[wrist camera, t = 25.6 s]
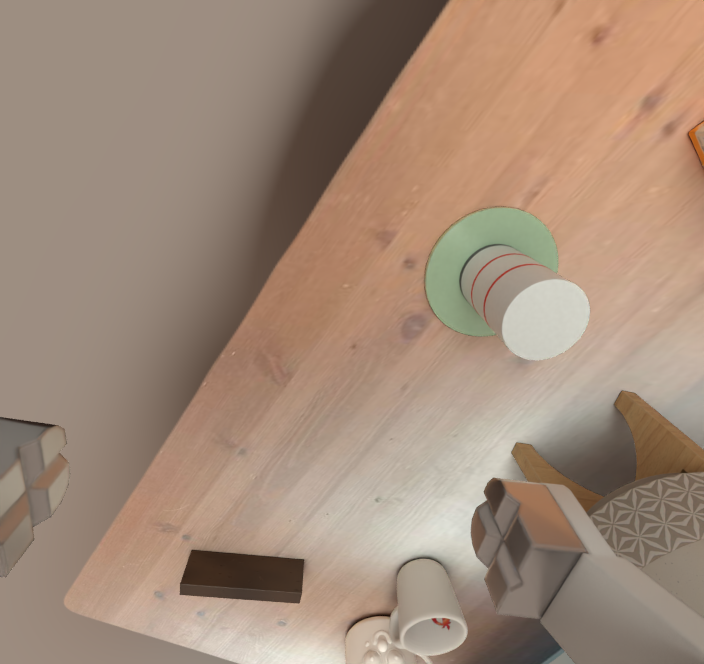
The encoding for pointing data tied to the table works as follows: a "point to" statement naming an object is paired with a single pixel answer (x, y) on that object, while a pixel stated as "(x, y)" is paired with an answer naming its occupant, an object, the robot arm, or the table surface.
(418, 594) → the cup
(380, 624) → the mug
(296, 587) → the rail
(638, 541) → the planter
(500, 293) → the white striped cylinder
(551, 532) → the robot arm
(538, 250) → the coaster
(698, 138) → the supplement box
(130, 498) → the table surface
